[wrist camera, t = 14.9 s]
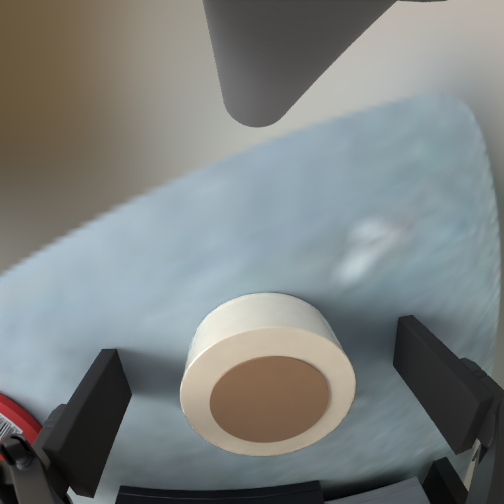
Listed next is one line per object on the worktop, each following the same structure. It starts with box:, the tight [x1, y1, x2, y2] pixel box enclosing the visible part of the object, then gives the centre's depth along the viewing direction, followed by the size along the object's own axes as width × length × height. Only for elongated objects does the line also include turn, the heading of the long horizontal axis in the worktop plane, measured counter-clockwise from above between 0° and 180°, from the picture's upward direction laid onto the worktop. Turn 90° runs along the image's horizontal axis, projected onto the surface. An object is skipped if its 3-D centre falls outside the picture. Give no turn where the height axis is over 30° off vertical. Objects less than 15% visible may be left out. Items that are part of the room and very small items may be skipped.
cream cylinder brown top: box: [180, 292, 356, 456], centre depth 12 cm, size 7×7×3 cm
